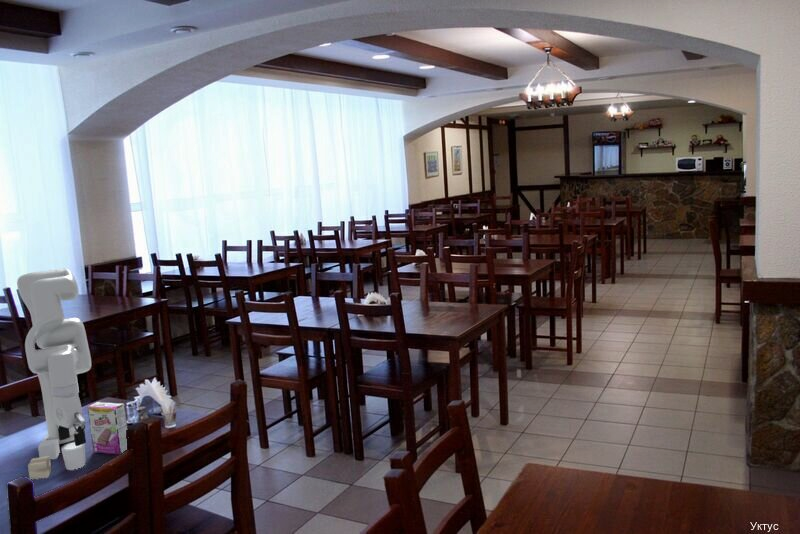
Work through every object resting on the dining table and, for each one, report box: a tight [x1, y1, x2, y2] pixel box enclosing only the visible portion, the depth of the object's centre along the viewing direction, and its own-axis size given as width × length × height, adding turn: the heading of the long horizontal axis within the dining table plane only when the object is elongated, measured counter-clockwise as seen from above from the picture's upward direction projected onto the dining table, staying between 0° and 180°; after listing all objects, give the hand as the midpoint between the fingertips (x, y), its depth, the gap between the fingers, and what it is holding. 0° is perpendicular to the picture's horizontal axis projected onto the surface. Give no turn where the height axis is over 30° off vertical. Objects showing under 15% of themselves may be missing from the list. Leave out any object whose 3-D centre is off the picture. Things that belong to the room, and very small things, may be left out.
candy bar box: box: [87, 401, 128, 456], centre depth 221 cm, size 11×5×16 cm, turn 74°
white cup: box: [60, 441, 86, 471], centre depth 212 cm, size 7×7×7 cm
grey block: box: [37, 439, 61, 460], centre depth 221 cm, size 5×5×5 cm
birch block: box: [27, 456, 52, 481], centre depth 207 cm, size 5×5×5 cm
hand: (72, 441), depth 211 cm, fingers open, 9 cm apart
